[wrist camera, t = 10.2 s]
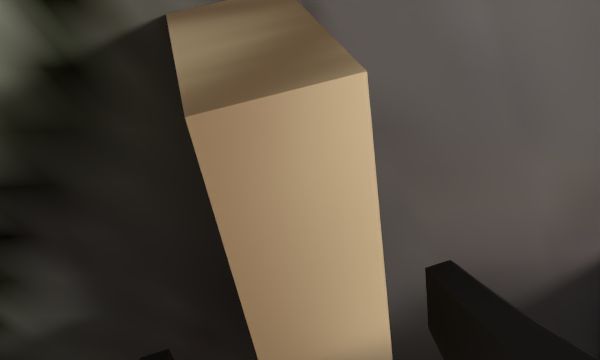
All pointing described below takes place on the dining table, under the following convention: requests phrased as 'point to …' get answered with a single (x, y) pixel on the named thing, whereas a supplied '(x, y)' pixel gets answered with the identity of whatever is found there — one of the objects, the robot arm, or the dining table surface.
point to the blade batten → (287, 175)
